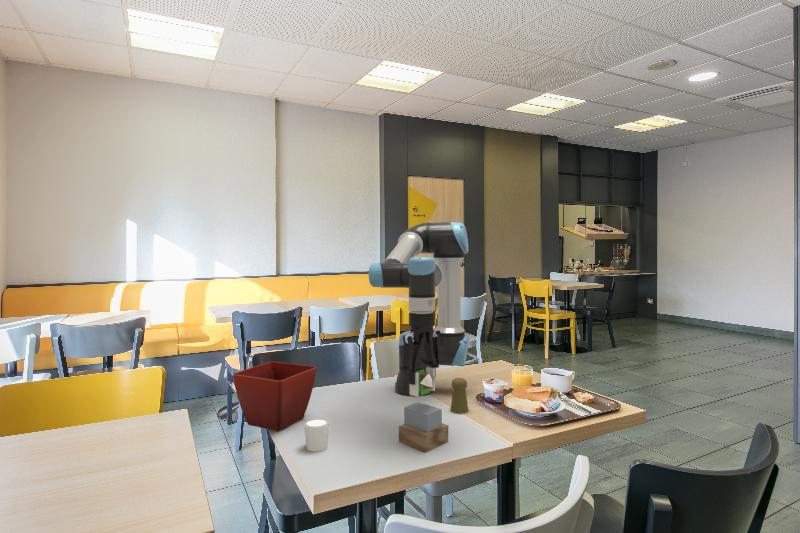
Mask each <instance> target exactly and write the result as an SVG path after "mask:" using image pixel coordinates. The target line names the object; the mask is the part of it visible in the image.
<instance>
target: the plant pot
mask: <svg viewBox="0 0 800 533" xmlns="http://www.w3.org/2000/svg"><path fill="white" fill-rule="evenodd" d="M316 374H317V366H313V365H305V364H296V363H289V362H281V361H268V362H265V363H262V364H258V365H256V366H251V367H248V368H245V369H243V370H240V371H235V372H234V373H232V378H233V384H234V387H235V388H234V389H235V393H236V397H237V400H238V403H239V406H240V408H241V412H242V414H243V416H244V420H245V421H246V423H247V425H248V426H251V427H257V428H260V429H261V428H262V429H265V430H266V429H267V430H271V431H277V432H279V431H283V430H284V429H286V428H288V427H290V426H292V425H293V424H296V423H298V422H300V421H301V420H303V419H304V417H305V414H306V412H307V409H308V406H309V402H310V399H311V396H312V392H313V389H314V384H315V380H316Z"/></svg>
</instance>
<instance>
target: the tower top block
mask: <svg viewBox="0 0 800 533" xmlns="http://www.w3.org/2000/svg"><path fill="white" fill-rule="evenodd" d="M403 413H404V414H403V421H404V423H403V424H405V425H408V426H410V427H413V428H416V429H419V430H422V431H424V432H427V433H428V432H431V431H433V430H435V429H438V428H440V427H442V423H443V416H442V415H443V410H442V409H441V408H438V407H436V406H433V405H429V404H425V403H423V402H419V401H418V402H415V403H413V404H412V403H411V404H409V405H406V406H404V407H403Z"/></svg>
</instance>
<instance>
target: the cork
mask: <svg viewBox="0 0 800 533" xmlns="http://www.w3.org/2000/svg"><path fill="white" fill-rule="evenodd" d="M451 386H452V389H453V390H452V398H451V403H450V404H451V405H450V412H451V413H453V414H458V415H460V414H461V413H464V414H466V412H467V413H469V406H468V398H467V390H466V388H468V382H467V380H466V379H465V378H464V377H463V378H462V377H456V378H455V377H454V378H453V379H452V380H451ZM461 415H462V414H461Z"/></svg>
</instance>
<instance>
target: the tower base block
mask: <svg viewBox="0 0 800 533" xmlns="http://www.w3.org/2000/svg"><path fill="white" fill-rule="evenodd" d="M398 442H399V443H400V444H402V445H404V446H407V447H410V448H412V449H415V450H418V451H420V452H423V453H428V452H430V451H432V450H434V449H437V448H438V447H440V446H442V445H445V444H447V443H449V424H446V423H443V422H442V427H440V428H438V429H435V430H433V431H431V432H428V433H427V432H424V431H422V430H419V429H416V428H413V427H410V426H408V425H405V424H404V423H402V424H400V425H398Z"/></svg>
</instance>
